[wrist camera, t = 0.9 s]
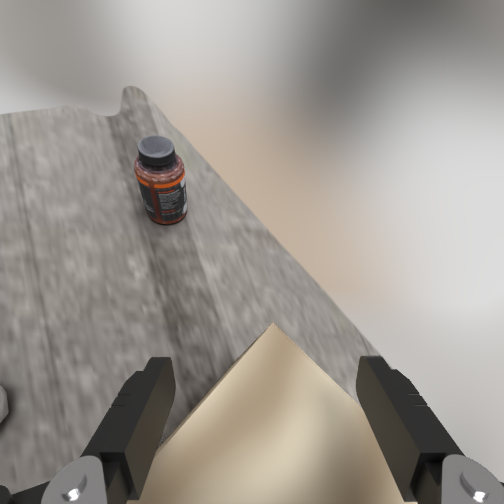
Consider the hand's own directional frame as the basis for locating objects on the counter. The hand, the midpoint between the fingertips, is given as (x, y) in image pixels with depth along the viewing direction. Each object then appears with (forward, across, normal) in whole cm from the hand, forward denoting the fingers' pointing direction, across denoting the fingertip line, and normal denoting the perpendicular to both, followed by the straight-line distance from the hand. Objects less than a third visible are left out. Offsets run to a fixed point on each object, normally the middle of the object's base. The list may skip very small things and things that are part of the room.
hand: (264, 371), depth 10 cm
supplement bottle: (+29, +14, -2) cm, 32 cm away
